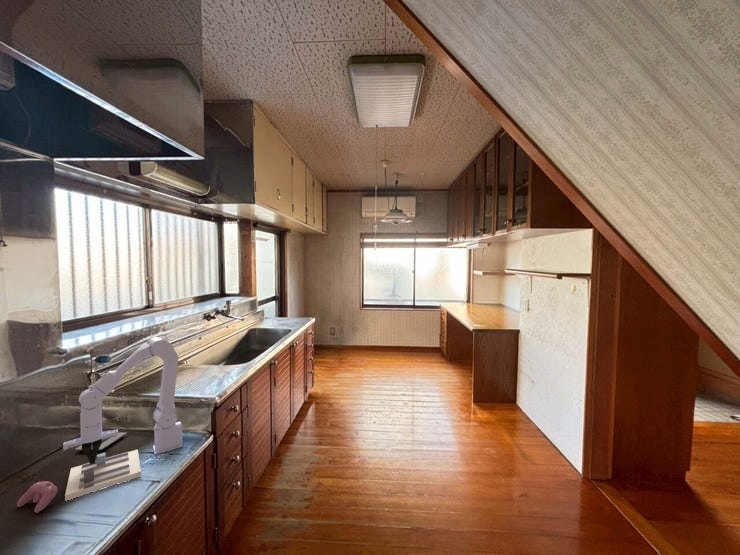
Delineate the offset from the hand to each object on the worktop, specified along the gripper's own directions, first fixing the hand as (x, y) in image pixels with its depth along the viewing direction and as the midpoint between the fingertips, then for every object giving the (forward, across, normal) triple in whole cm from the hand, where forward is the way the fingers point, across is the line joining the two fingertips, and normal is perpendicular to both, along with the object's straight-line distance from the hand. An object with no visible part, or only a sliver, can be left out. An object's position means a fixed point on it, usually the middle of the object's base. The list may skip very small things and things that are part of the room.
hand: (92, 462), depth 115 cm
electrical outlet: (+4, -2, -23) cm, 23 cm away
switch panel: (+4, -4, +5) cm, 7 cm away
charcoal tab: (+1, 0, +10) cm, 10 cm away
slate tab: (+1, -2, 0) cm, 3 cm away
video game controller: (+4, +12, +10) cm, 16 cm away
